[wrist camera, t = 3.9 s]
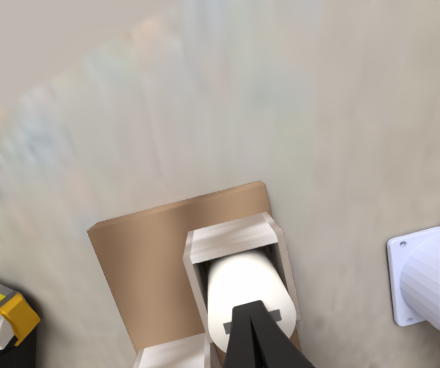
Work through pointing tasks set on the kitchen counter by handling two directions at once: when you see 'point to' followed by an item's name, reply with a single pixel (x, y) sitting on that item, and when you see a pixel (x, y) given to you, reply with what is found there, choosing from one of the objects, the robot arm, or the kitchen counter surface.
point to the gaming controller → (16, 330)
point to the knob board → (184, 269)
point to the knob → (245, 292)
